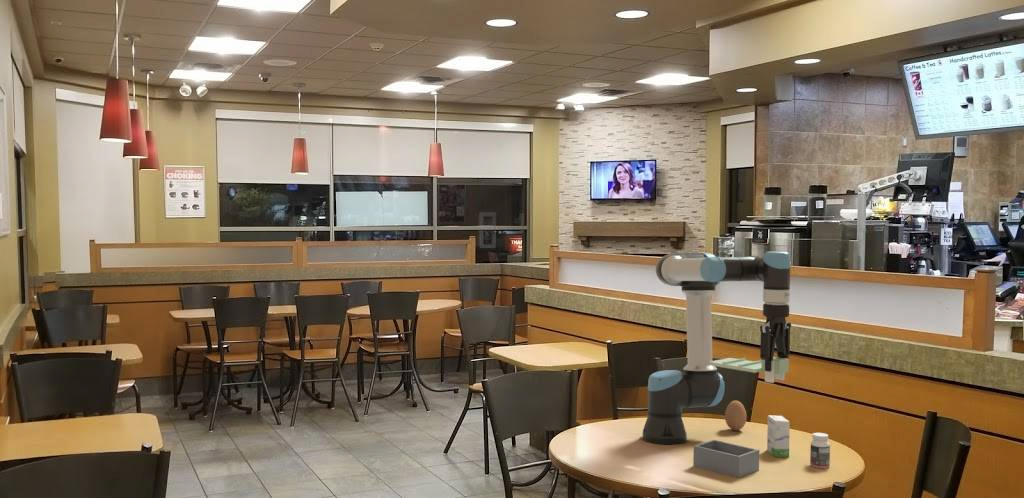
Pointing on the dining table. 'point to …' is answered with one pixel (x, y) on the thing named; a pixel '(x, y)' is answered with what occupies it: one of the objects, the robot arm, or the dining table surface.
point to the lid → (752, 365)
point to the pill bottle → (820, 451)
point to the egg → (735, 415)
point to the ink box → (778, 436)
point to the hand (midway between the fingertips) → (774, 380)
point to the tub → (726, 458)
